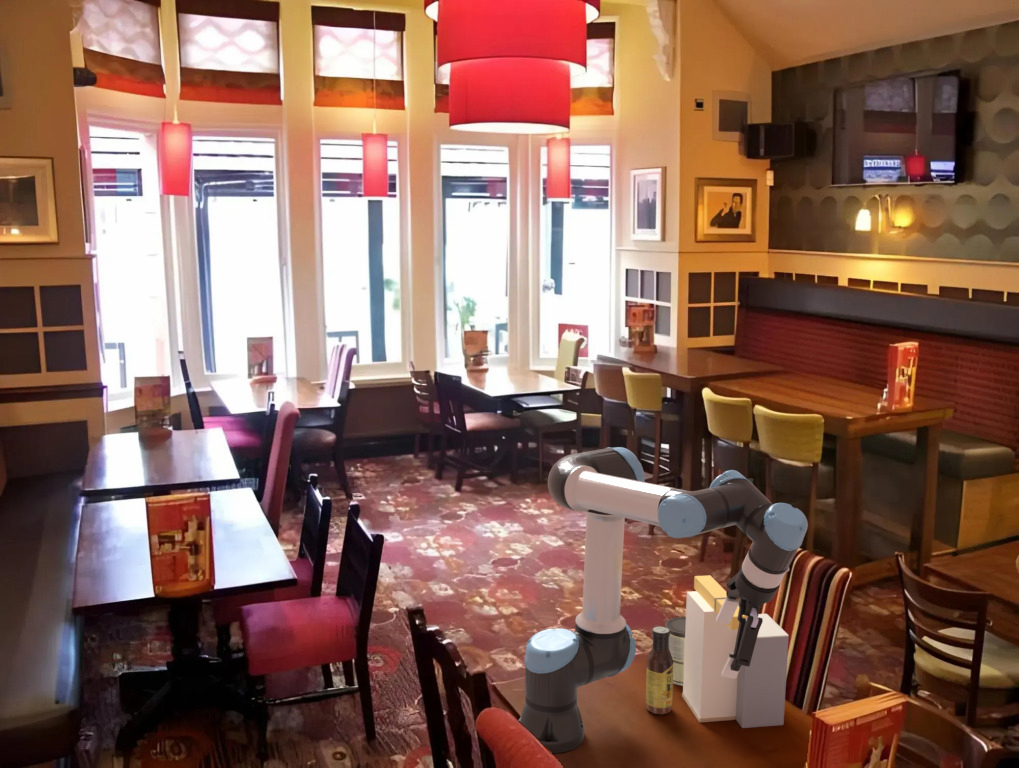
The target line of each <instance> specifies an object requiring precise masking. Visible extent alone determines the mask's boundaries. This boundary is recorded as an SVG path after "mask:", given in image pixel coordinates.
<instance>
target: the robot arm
mask: <svg viewBox="0 0 1019 768" xmlns="http://www.w3.org/2000/svg"><path fill="white" fill-rule="evenodd" d="M645 479H646V478H645V471H644V469H643V466H642V463H641V461H639V459H638V457H637V456H636V455H635V454H634V452H632V451H631V450H629V448H625V447H622V446H620V447H619V446H617V447H609V446H608V447H604V448H603V449H602V448H601V449H596V450H590V451H584V452H578V453H571V454H568V455H565V456H563V457H561V458H560V459H559V460H557V461H556V462H555V463H554V465H553V466H552V467H551V469H550V471H549V474H548V478H547V489H548V492H549V495H550V496H551V499H553V501H554V502H555V503H556V504H558V505H559V506H560V507H562V508H565V509H568V510H572V511H575V512H579V513H580V512H582V513H584V514H585V515H586V518H585V519H586V521H585V543H584V546H585V547H584V563H583V565H584V566H583V567H584V568H583V569H584V570H583V589H582V590H583V591H582V608H581V609H582V611H581V612H580V613H579V614H577V615H576V617H575V624H574V632H573V631H572V630H570V629H567V628H564V627H563V628H562V627H561V628H560V627H557V628H556V629H554V628H552V627H551V628H547V629H542V630H540V631H538V632H536V633H534V634H533V635H532V636H531V637H530V638H529V639H528V641H527V643H526V646H525V656H524V665H525V667H524V669H525V673H524V674H525V675H524V676H525V678H524V679H525V682H524V683H525V684H524V685H525V686H524V687H525V689H524V694H525V695H524V699H525V701H524V704H523V707H522V710H521V715H520V717H519V719H518V721H520V722H521V723H522V724H523V725H524V726H525V727H526V728H527V729H528V730H529V731H531V732H532V733H533V734H534V735H535V736H536V737H537V738H538V739H539V741H540V742H541V743H542V744H543V745H544V746H546V747H547V748H548V749H549V750H550V751H551V752H552V753H551V754H561V753H566V752H569V751H573V750H574V749H576V748H578V747H579V746H580V745H581V744H582V743H583V742H584V739H585V724H584V722H583V717H582V715H581V712H580V709H579V706H578V688H580V687H582V686H586V685H588V684H591V683H594V682H597V681H599V680H602V679H606V678H610V677H615V676H616V675H618V674H619V673H621V672H624V671H626V670H627V669H628V668H629V667H630V666H631V664H633V661H634V659H635V655H636V641H635V637H633V634H634V633H633V631H632V629H631V628H630V626H629V625H628V624H627V621H626V619H625V618H624V617H623V615H621V600H622V599H621V598H622V580H623V579H622V577H623V559H624V558H623V557H624V541H625V540H624V539H625V538H624V537H625V519H627V520H628V519H629V520H633V521H636V522H641V523H643V524H644V523H645V524H649V525H653V526H657V527H660V528H661V530H662V532H665V533H666V534H667V536H668V537H671V538H672V539H673V538H674V539H682V538H693V537H695V536H697V535H701V534H704V533H708V532H712V531H714V530H715V531H716V530H719V529H724V528H727V527H731V526H736V527H737V528H739V530H741V531H742V533H743V534H744V535H745V536H747V537H748V538H749V539H750V540H751V542H752V543H751V544H750V547H749V549H748V551H747V554H746V555H745V558H744V560H743V562H742V563H741V567H740V569H739V571H738V572H737V573H736V574H735V575H733V576H732V578H730V579H729V580H728V581H727V583H726V588H727V589H728V590H726V596H727V598H725V600H724V603H723V605H722V607H721V609H720V611H719V613H718V615H717V618H716V622H721V623H726V624H729V623H730V621H731V619H732V617H733V615H734V613H735V611H736V609H737V607H738V605H739V612H738V618H737V619H738V621H739V627H738V633H737V638H736V643H735V649H734V652H731V654H729V658H728V660H727V662H726V664H725V666H724V668H723V670H722V672H721V676H723V677H728V678H732V679H736V677H737V675H738V673H739V671H740V669H741V667H742V665H743V666H748V667H749V666H750V662H751V658H752V655H753V651H754V647H755V643H756V640H757V636H758V632H759V629H760V627H761V625H762V622H763V620H762V618H759V617H758V614H760V611H761V609H762V605H764V604H767V603H770V602H771V601H772V600H773V599H774V597H775V596H776V594H777V591H778V590H779V588H780V584H781V582H782V581H783V579H784V577H785V575H786V573H787V572H790V565H791V563H792V561H793V559H794V558H795V556H796V554H797V551H798V550H799V549H800V547H801V546H802V545H803V541H804V538H805V536H806V533H807V530H808V526H809V523H808V519H807V517H806V515H805V514H804V512H803V511H802V510H800V509H799V508H797V507H794V506H792V504H790V503H789V504H788V503H785V502H777V503H773V502H771V501H770V500H769V498H767V497H766V495H764V493H762V492H761V490H759V488H757V487H756V485H754V483H753V482H752V481H751V480H749V479H748V478H746V476H744V475H743V474H742V473H740V472H739V471H738V470H735V469H729V470H725V471H724V472H723V473H722V474H719V475H718V476H716V477H715V478H714V480H713V481H712V482H711V483H710V485H709V487H707V488H704V489H699V490H693V491H692V490H691V491H690V490H685V489H681V488H676V487H671V486H666V485H660V484H655V483H650V482H646V481H645ZM743 615H745V616H748V618H742V616H743Z"/></svg>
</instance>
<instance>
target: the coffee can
mask: <svg viewBox="0 0 1019 768" xmlns="http://www.w3.org/2000/svg"><path fill="white" fill-rule="evenodd" d="M664 626H665V628H668V629H669V630H670V636H669V650H670V653H671V656H672V659H673V662H674V664H673V685H677V686H681V687H683V681H684V654H685V628H686V616H677V617H672V618H670V619H669V618H668V619H667V620H666V622H665V625H664Z"/></svg>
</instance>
